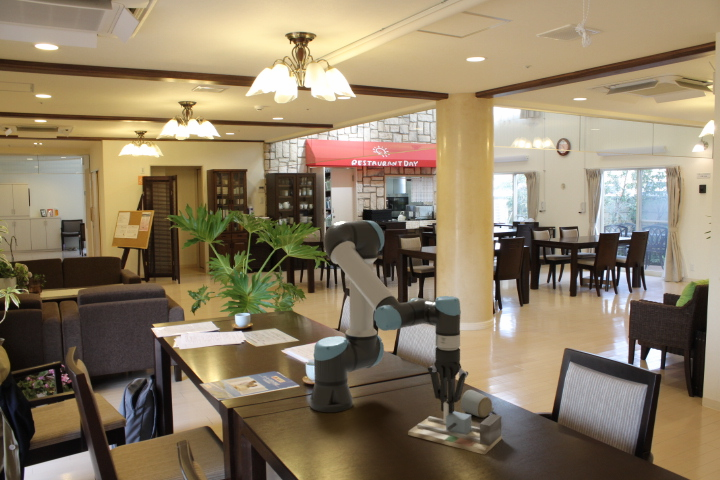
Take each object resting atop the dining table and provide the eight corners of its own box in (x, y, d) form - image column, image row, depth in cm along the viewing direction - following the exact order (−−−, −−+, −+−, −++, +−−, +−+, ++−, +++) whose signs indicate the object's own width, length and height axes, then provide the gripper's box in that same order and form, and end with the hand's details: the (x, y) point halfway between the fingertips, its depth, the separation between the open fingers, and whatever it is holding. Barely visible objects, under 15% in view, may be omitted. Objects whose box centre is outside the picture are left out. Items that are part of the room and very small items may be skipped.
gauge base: (408, 434, 178) (408, 412, 177) (428, 421, 188) (428, 399, 188) (484, 454, 164) (484, 429, 163) (501, 438, 174) (501, 415, 174)
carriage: (439, 436, 173) (439, 420, 173) (453, 426, 181) (453, 411, 180) (458, 441, 169) (458, 424, 169) (471, 430, 177) (471, 415, 177)
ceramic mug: (479, 421, 188) (479, 398, 188) (460, 414, 194) (460, 391, 194) (499, 413, 195) (500, 391, 194) (480, 407, 201) (480, 385, 201)
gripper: (423, 347, 178) (423, 421, 179) (462, 353, 170) (461, 431, 172) (434, 341, 184) (434, 414, 185) (472, 347, 176) (472, 422, 178)
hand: (447, 422), depth 179 cm, fingers closed
